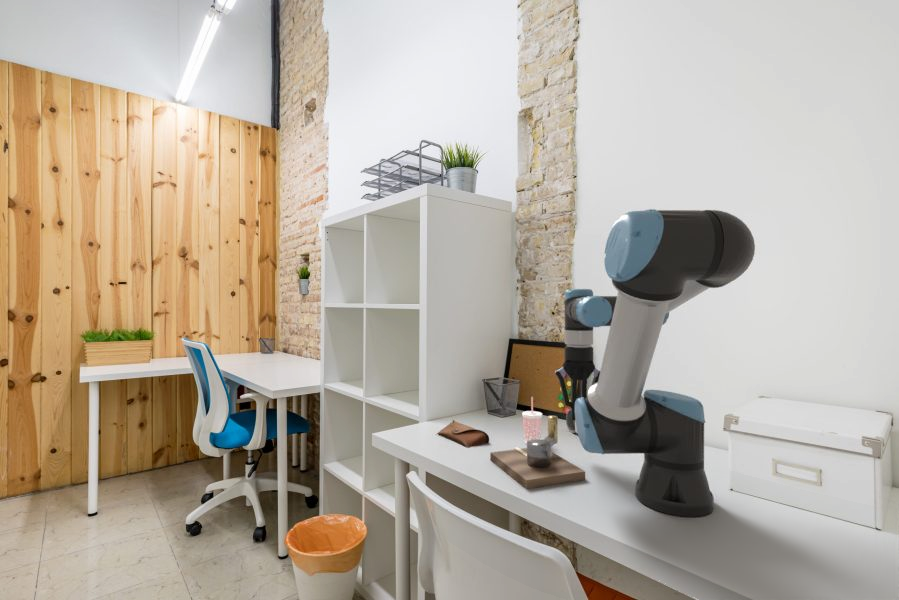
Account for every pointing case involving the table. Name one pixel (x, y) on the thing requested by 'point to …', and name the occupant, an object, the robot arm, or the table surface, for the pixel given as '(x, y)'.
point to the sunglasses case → (464, 434)
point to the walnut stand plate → (536, 469)
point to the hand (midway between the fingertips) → (578, 432)
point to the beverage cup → (531, 424)
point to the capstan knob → (543, 446)
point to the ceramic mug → (570, 422)
